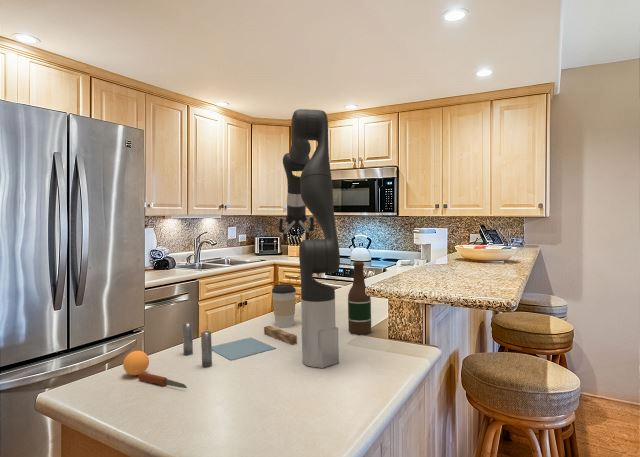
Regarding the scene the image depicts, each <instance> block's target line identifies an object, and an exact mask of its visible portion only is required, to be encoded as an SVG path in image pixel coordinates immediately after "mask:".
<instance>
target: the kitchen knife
mask: <svg viewBox="0 0 640 457" xmlns="http://www.w3.org/2000/svg"><path fill="white" fill-rule="evenodd" d="M138 380H139V381H141V382H144V383H149V384H155V385H158V386H162V387H166V386H171V387H176V388H182V389H188V387H187V385H186V384H185V383H182V382H179V381H175V380H172V379H168V377H165V376H162V375H161V376H160V375H157V374H151V373H149V372H143V373H141V374H139V375H138Z"/></svg>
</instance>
